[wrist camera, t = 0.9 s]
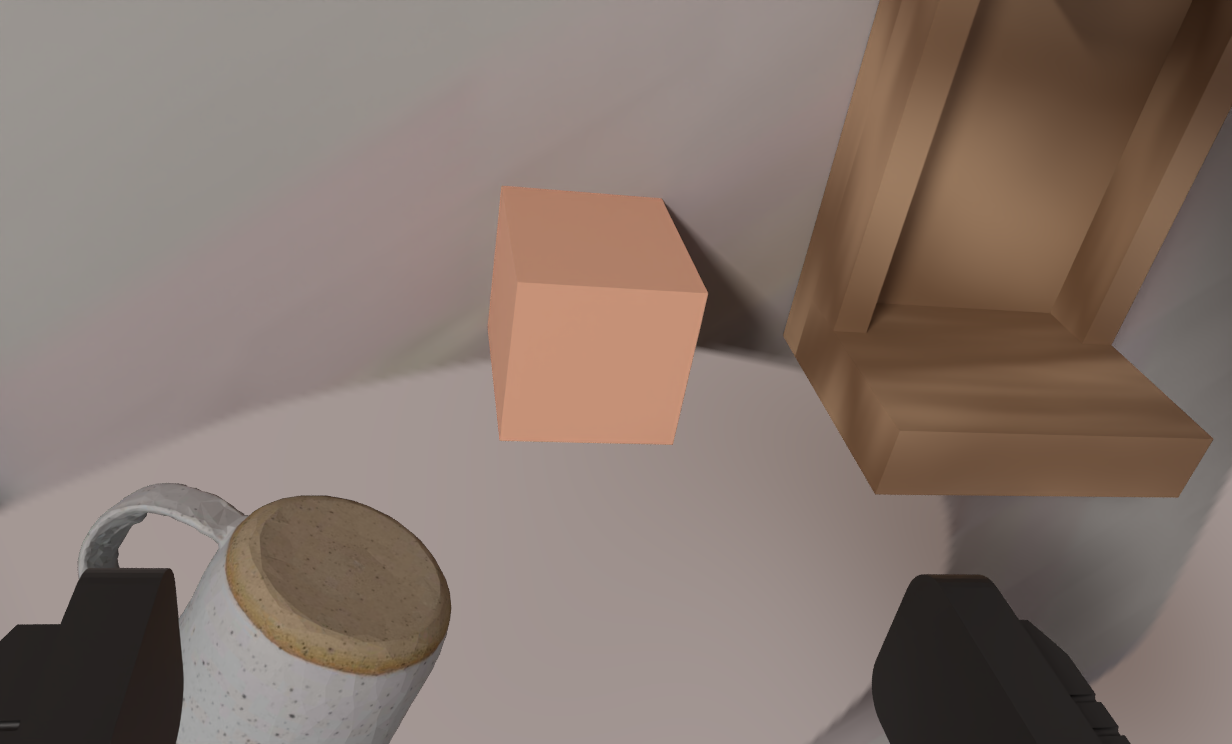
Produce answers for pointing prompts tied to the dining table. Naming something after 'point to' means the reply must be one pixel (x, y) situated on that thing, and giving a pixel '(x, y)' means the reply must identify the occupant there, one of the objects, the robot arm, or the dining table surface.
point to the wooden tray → (1009, 243)
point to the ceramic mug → (295, 617)
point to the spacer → (590, 318)
